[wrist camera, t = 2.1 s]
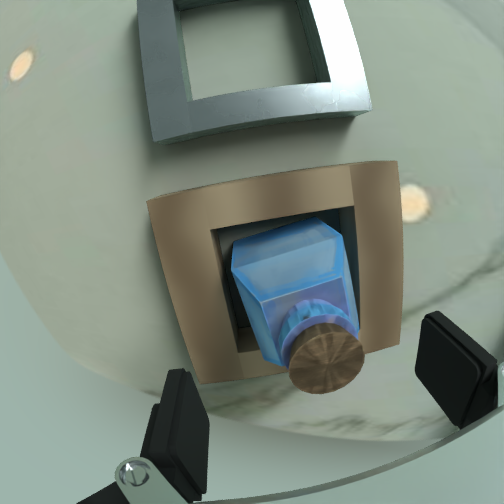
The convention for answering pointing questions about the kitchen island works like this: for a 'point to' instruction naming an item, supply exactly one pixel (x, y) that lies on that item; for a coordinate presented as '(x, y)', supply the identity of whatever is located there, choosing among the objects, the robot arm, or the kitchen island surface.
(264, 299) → the perfume bottle
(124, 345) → the kitchen island surface
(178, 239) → the tan square frame
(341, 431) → the kitchen island surface
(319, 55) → the block
